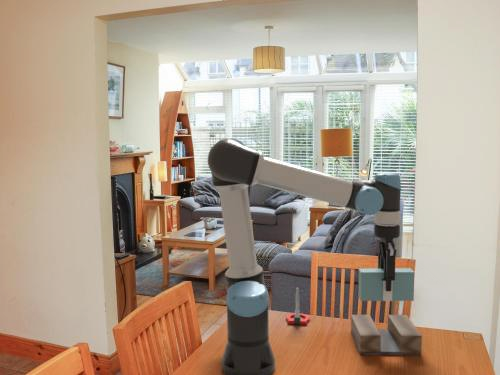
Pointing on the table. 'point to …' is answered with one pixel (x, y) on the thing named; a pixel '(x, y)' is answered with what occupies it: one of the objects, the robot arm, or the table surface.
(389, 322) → the grey grooved block
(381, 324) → the table surface
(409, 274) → the teal beam
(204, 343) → the table surface
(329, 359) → the table surface
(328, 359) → the table surface
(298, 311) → the tow hook
